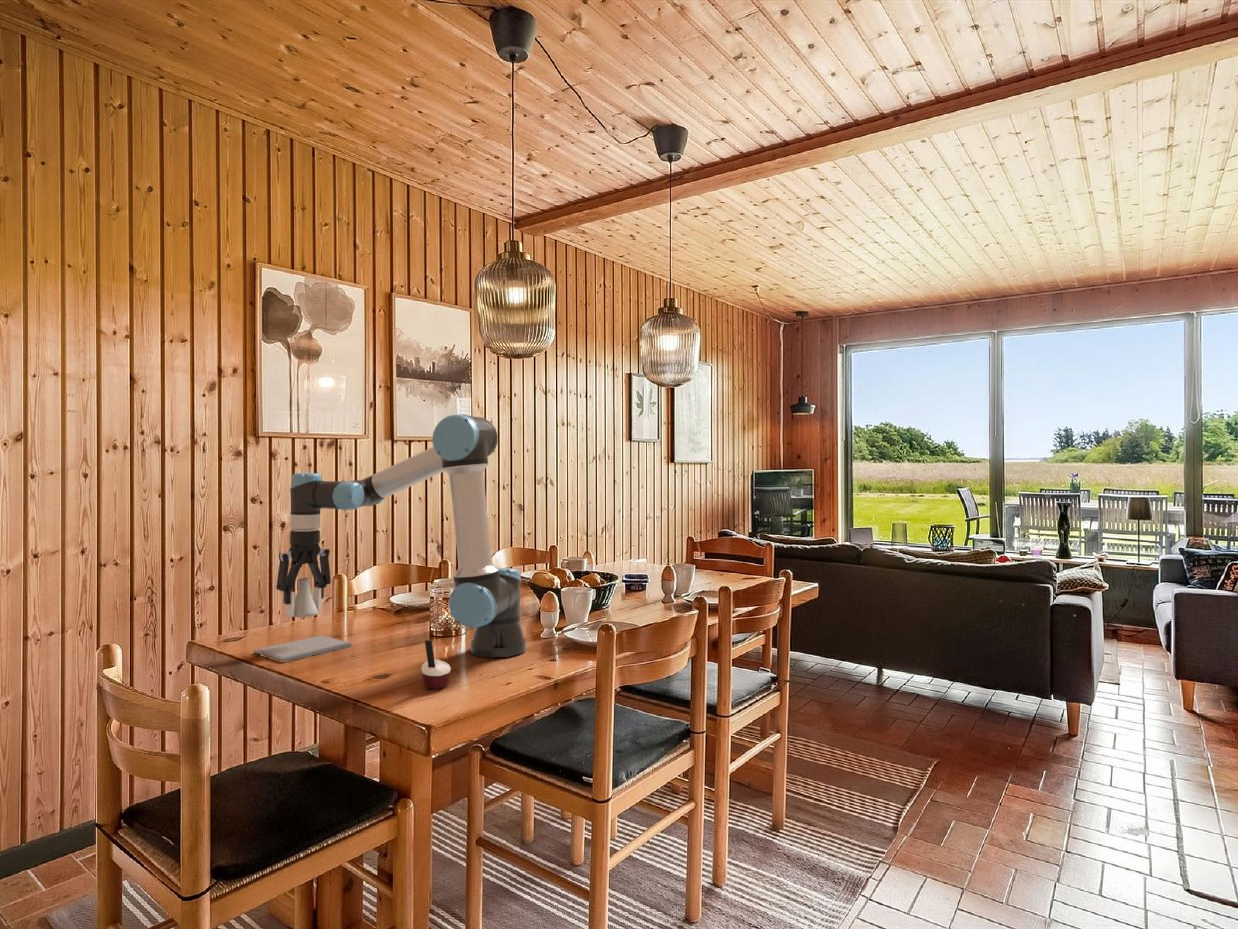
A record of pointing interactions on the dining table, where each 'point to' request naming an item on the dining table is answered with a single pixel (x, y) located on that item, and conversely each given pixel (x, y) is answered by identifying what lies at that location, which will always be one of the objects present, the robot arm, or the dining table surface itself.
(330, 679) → the dining table surface
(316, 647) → the slate board
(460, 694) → the dining table surface
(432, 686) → the cocoa
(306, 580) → the flask
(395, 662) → the dining table surface
